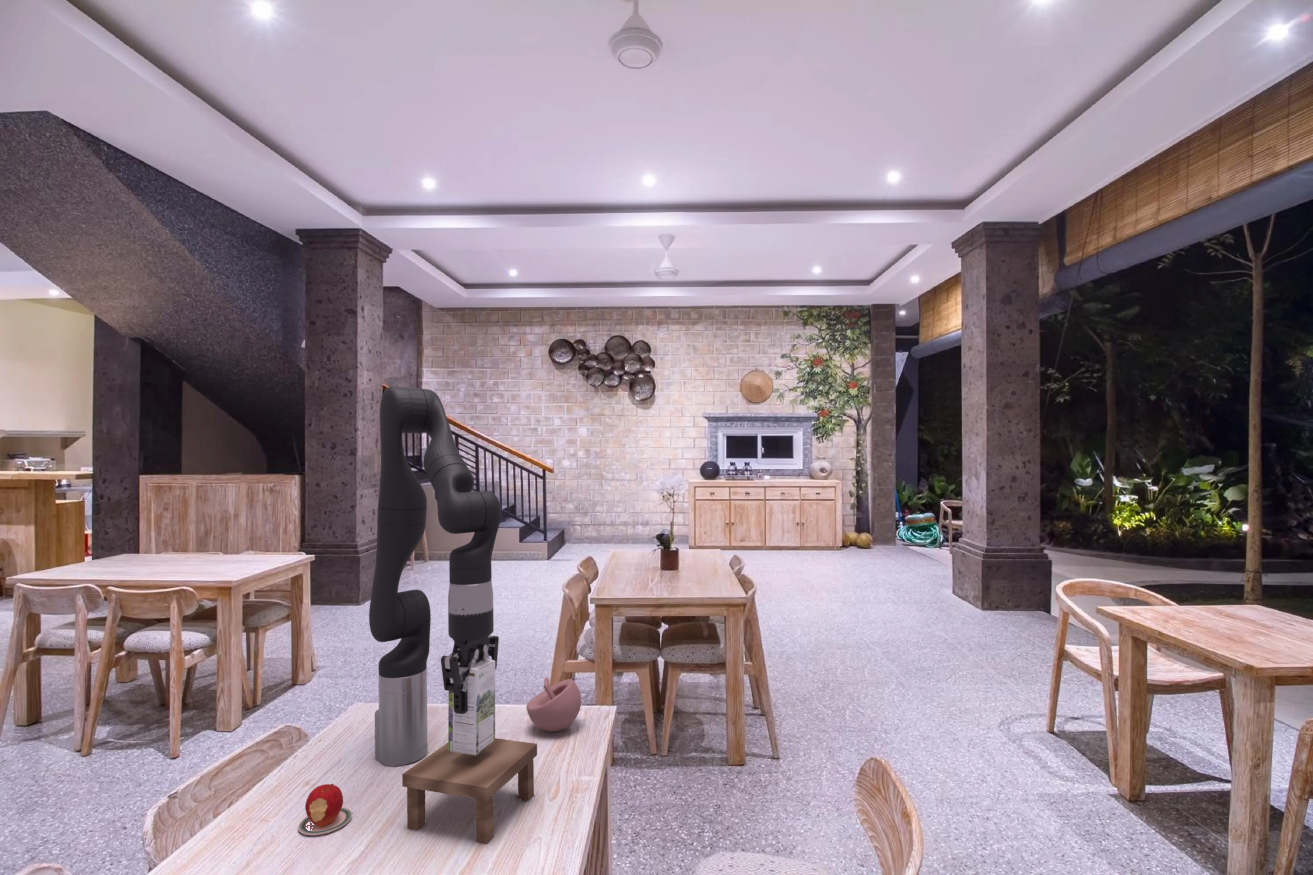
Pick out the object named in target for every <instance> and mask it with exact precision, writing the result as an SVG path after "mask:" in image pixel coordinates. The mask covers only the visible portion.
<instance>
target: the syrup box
mask: <svg viewBox="0 0 1313 875" xmlns="http://www.w3.org/2000/svg"><path fill="white" fill-rule="evenodd" d="M491 659H492V658H491ZM491 659H487V660H486V661H485V660H481V661H480V662H478V663H476V664H475V667H473V668H471V671H470V676H469V677H468V687H467V690H466V691H467V697H468V711H467V712H466V713H465V714H457V713H455V712H454V707H453V705H454V704H453V703H454V702H453V691H448V704H447V706H448V713H447V714H448V719H447V720H448V726H447V727H448V735H447V737H448V742H447V743H448V750H449V751H450V752H456V753H462V754H469V755H478V754H479V753H480V752H482V751H483V750H484V749H485V748H487V747H488V746H489V745H491V744H492V743H493V742H495V738H496V670H495V661H494V660H491ZM467 669H468V667H460V666H459V671H467ZM452 680H453V679H452V678H450V682H451V683H452ZM462 681H463V676H460V682H461V684H462Z"/></svg>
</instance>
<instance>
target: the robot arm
mask: <svg viewBox="0 0 1313 875" xmlns="http://www.w3.org/2000/svg"><path fill="white" fill-rule="evenodd" d="M379 433H380V435H379V436H380V437H379V438H380V477H379V491H378V493H379V494H378V504H377V520H376V521H377V522H376V523H377V524H376V525H377V526H376V527H377V531H376V532H377V534H376V550H375V551H376V555H375V567H374V574H373V579H372V580H373V581H372V589H371V595H370V602H369V603H370V604H369V611H368V622H369V629H370V630H369V631H370V634H371V635H372V637H373V638H374V640H375V641H377V642H378V643H386V642H392V641H397V640H400V641H399V642H398V643H397V645H395V646H394V647H393V649H391V650H390V651H388V652H387V653H386V654H384V655H383V656H382V657H381V658H380V659H379V661H378V708H377V710H375V712H374V759H375V760H377V761H379V763H381V765H385V766H390V767H391V766H393V767H394V766H404V765H409V764H411V763H415V762H417V761H419V760H421V759H424V757H425V756H427V754H428V679H427V678H428V666H427V664H428V658H429V655H430V646H431V644H430V641H431V625H432V624H431V622H432V621H431V620H432V618H431V615H432V614H431V605H430V601H429V598H428V596H427V594H425V592H424V591H423V590H421V589H411V590H410V589H409V590H403V591H399V586H400V585H399V584H400V581H401V580H400V579H401V576H402V574H403V571H404V569H405V566H406V564H407V562H408V561H409V560H410V558H411V556H412V554H414V551H415V550H416V548H417V547H418V545H419V543H420V542H421V540H422V538H423V536H424V533H425V530H426V526H427V510H428V509H427V506H428V499H427V494H426V492H425V490H424V488H423V486H422V484H421V483H420V480H418V478H417V476H416V474H415V473H414V471H413V470H412V467H411V466H410V464H409V462H408V461H407V457H406V454H405V450H404V444H403V434H427V435H428V436H429V437H430V441H429V444H428V446H427V447H426V450H425V452H424V456H423V469H424V472H425V475H426V476H427V478H428V481H429V483H430V484H431V486H432V488H433V490H434V493H435V498H436V504H437V505H436V506H437V507H436V508H437V518H438V524H439V525H440V527H441V528H442V529H443V530H444V531H445V532H447V533H449V534H453V535H457V534H458V535H459V534H460V535H461V534H470V533H473V536H472V538H471V540H470V541H468V543H466V544H464V545H461V546H458V547H456V548H454V549H453V550H451V551H450V553H449V560H448V562H449V564H448V566H449V568H448V569H449V570H448V572H449V587H448V594H447V597H448V598H447V608H448V609H447V612H448V614H447V618H448V621H447V622H448V624H447V625H448V630H447V631H448V632H447V633H448V636H449V638H450V639H452V640H453V642H454V643H453V647H452V652H451V653H450V654H449V655H442V656H441V658H440V665H441V673H442V682H443V689H444V691H446V692H447V691H448V692H449V691H453V702H454V703H453V704H454V705H453V707H454V712H455V713H457V714H465V713H466V712H467V711H468V697H467V691H466V690H467V687H468V677H469V676H470V671H471V668H473V667H475V664H476V663H478V662H480V661H481V660H485V661H486V660H487V659H490V658H491V660H494V661H495V671H496V670H497V668H498V653H499V643H500V642H499V640H500V639H499V635H492V634H493V633H494V628H495V627H494V588H493V581H492V555H493V552H494V547H495V542H496V538H497V535H498V532H499V528H500V524H501V519H502V506H501V502H500V499H499V498H498V497H497V495H496V494H495V493H493V492H492V491H488V490H484V491H483V490H482V491H479V490H478V491H472V490H473V488H474V485H475V479H474V476H473V474H472V472H471V470H470V469H469V467H468V466H467V464H466V462H465V461H464V458H463V457H462V456H461V454H460V452H459V449H458V447H457V445H456V443H455V439H454V437H453V433H452V430H451V426H450V423H449V420H448V417H447V414H446V410H445V409H444V405H443V402H442V401H441V399H440V397H439V395H438V394H437V393H436V392H435V391H434V390H431V389H426V388H418V387H405V386H389V387H386V389H385V390H384V391H383V393H382V396H381V399H380V406H379ZM459 666H460V667H468V669H467V671H459ZM460 676H463V681H462V684H461V682H460ZM450 678H452V679H453V680H452V683H451V682H450Z"/></svg>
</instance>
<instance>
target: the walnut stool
mask: <svg viewBox="0 0 1313 875" xmlns="http://www.w3.org/2000/svg"><path fill="white" fill-rule="evenodd" d="M537 756H538V743H533V742H525V741H520V740H512V739H511V740H510V739H503V738H498V737H497V738H496V737H495V742H493V743H492V744H491V745H489V746H488V747H487V748H485V749H484V750H483V751H482V752H480V753H479V754H478V755H469V754H462V753H456V752H450V751H449V750H448V742H447V743H445V744H444V745H442V746H441V747H440V748H438V749H436V750H435V751H434V752H432V753H431V754H429V755H427V757H425V758H422V760H421V761H419V762H418V763H416V764H415V765H413V766H412V767H410V768H409V769H408V770H406V771H405V772H404V773H402V774H401V775H402V777H401V778H402V779H401V780H402V781H401V782H402V786H401V787H404V788H406V807H407V808H406V810H407V811H406V813H407V814H406V819H407V821H406V822H407V824H406V826H407V828H406V829H408V830H411V831H419V830H420V829H422V828H423V827H424V826H426V820H427V819H426V818H427V817H426V791H427V792H432V793H437V794H438V793H439V794H444V795H451V796H457V797H464V798H467V799H475V800H474V803H475V806H474V807H475V810H474V812H475V842H476V843H479V844H485V845H487V844H489V842H491V841H492V839H493V838H494V837H495V830H494V828H495V827H494V826H495V824H494V823H495V820H494V819H495V818H494V815H495V812H494V808H495V806H494V795H496V794H497V793H498V792H499V791H500V790H501V789H502V788H503V787H505V785H506V784H507V783H509V782H510V781H511V780H512V779H513V778H514V777H515V776H516V775H517V800H519V801H523V802H529V801H531V799H532V798H534V796H535V787H534V786H535V785H534V784H535V783H534V782H535V777H534V773H535V772H534V770H535V769H534V765H535V764H534V759H535V758H536V757H537Z"/></svg>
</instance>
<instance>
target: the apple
mask: <svg viewBox="0 0 1313 875" xmlns="http://www.w3.org/2000/svg"><path fill="white" fill-rule="evenodd" d="M343 805H344V796H343V792H342V790H341V788H340V787H339V786H337V785H335V784H334V783H331V784H330V783H327V784H326V783H325V784H321V785H318V786H317V787H315V788H313V789H312V790H311V792H310V793H309V794H308V796H307V799H306V801H305V813H306V817H304V818H303V819H302V820H301V821H300V822H299V823H298V831H299V832H300V833H301V834H303V835H306V836H319V835H325V834H328V833H331V832H334V831H337V830H339V829H341V828H342V827H344V826H346V825H347V824H348V823H349V822H350V821H351V819H352V817H353V812H352V811H351V809H349V808H346V807H343ZM308 822H310V825H307V826H306V824H307V823H308ZM311 822H312V823H313V824H314V825H312V823H311ZM308 826H310V831H308V830H307V829H306V827H307V828H308ZM312 827H313V828H312ZM311 829H312V831H311Z"/></svg>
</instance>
